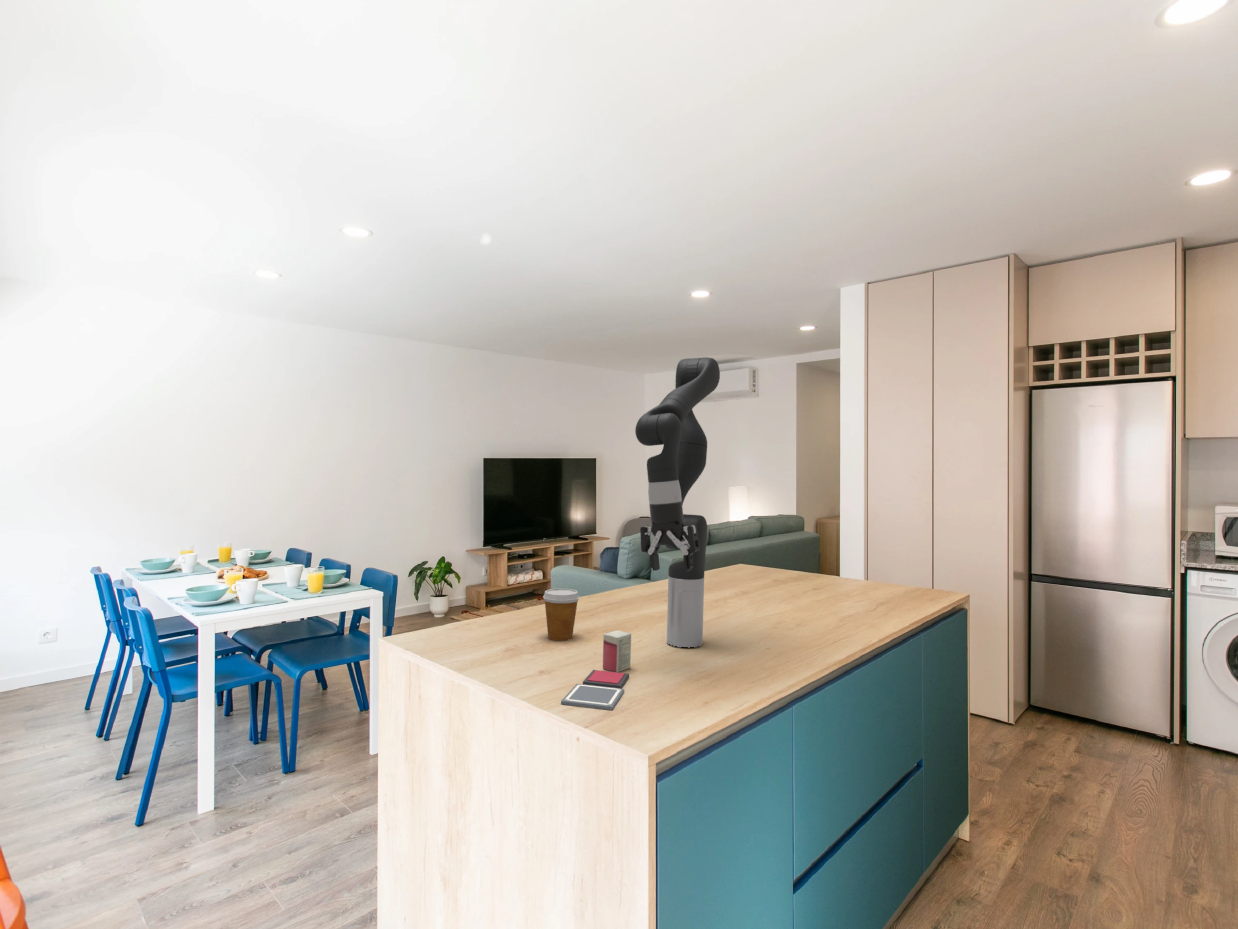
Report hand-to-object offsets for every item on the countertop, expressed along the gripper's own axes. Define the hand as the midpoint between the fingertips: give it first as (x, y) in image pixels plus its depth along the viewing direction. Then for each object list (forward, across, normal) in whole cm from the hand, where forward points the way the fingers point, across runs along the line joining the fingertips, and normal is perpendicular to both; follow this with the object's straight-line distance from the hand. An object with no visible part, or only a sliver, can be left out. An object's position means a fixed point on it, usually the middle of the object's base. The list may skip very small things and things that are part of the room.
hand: (672, 570), depth 148 cm
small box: (+20, +10, +12) cm, 25 cm away
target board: (+19, +3, +30) cm, 36 cm away
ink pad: (+19, +6, +21) cm, 29 cm away
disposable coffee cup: (+19, +35, +1) cm, 40 cm away
